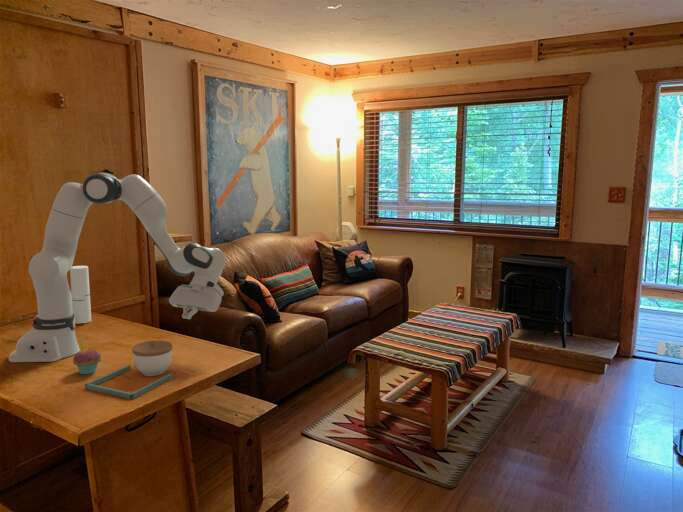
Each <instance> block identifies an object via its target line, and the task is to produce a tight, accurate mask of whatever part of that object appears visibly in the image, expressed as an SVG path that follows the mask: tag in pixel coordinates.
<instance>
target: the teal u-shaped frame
mask: <svg viewBox="0 0 683 512" xmlns="http://www.w3.org/2000/svg"><path fill="white" fill-rule="evenodd" d="M128 370H129V371H130V370H131V365H130V364H128V365H125V366H123V367H121V368H119V369H116V370H114V371H112V372H110V373H107V374H105V375H103V376H101V377H98V378H96V379H94V380H91V381H90V382H87V383H85V384H84V385H85V389H86V390H91V391H93V392H98V393H103V394H106V395H107V394H108V395H112V396H115V397H120V398H123V399H127V400H134V399H136V398H138V397H140V396H141V395H144V394H146V393H147V392H149V391H152V390H154V389H155V388H156V387H159V386H160V384H161V385H162V383H163V384H164V383H166V382H168V381H170V380H172V379H173V375H174V374H173V373H169V374H167V375H165V376H162V377H160V378H159V379H157V380H155V381H153V382H151V383H149V384H147V385H146V386H143V387H142V388H139V389H137V390H135V391H134V392H129V391H128V392H127V391H123V390H120V389H119V390H118V389H113V388H110V387H107V386H101V385H100V384H102V383H104V382H107V381H109V380H111V379H113V378H115V377H118V376H119V374H120V375H122V374H124V373H126V372H128ZM117 375H118V376H117ZM112 377H113V378H112ZM110 378H111V379H110ZM108 379H109V380H108ZM106 380H107V381H106ZM143 393H144V394H143Z"/></svg>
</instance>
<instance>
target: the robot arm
mask: <svg viewBox="0 0 683 512" xmlns="http://www.w3.org/2000/svg"><path fill="white" fill-rule="evenodd" d="M116 200H118V201H122V202H124V204H126V205H127V206H128V207H129V208H130V209H131V211H132V212H133V213H134V215H136V217H137V219H139V220H140V222H141V224H142V225H143V227H144V229H145V231H146V232H147V234H148V236H149V237H150V238H151V240H152V241H153V243H154V244H155V246H156V247H157V249H158V250H159V251H160V253H161V254H162V255H163V257H164V259H165V260H166V264H167V266H168V268H169V270H170V271H171V273H172V274H174V275H175V276H177V277H178V276H179V277H186V276H189V275H190V274H191V273H192V272H194V274H193V277H192V278H191V281H190V283H189V284H181V285H178V286H177V287H176V289H175V290H174V291H173V293H172V294H171V296H170V297H169V299H168V303H169V304H170V305H171V306H172V307H175V308H182V309H183V310H182V311H183V313H182V314H181V317H182V319H187V320H191V319H192V317H193V316H195V314H197V313H198V311H203V312H211V313H215V312H216V311H218V309H219V307H220V306H221V303H222V301H223V300H222V297H223V296H224V295H225V293H224V291H223V289H222V288H221V286H219V285H218V283H217V282H218V279H219V278H220V277H221V275H222V274H223V271H224V269H225V267H226V266H225V265H226V264H227V256H226V254H225V252H223V251H222V250H221V249H220V248H217V247H206V246H203V245H202V244H199V243H196V242H190V243H188V244H186V245H185V246H183V247H182V248H180V247H179V246H178V245H177V244H176V242H175V241H174V239H173V238H172V236H171V235H170V233H169V231H167V226H166V223H167V221H166V220H167V218H168V213H169V212H168V211H169V210H168V206H167V204H166V202H165V200H164V199H163V198H162V196H161V195H160V194H159V193H158V192H157V190H156V189H155V188H154V187H153V186H152V184H150V183H149V182H148V181H147V180H146V179H144V178H143V177H142V176H141V175H139V174H135V173H134V174H128V175H126V176H125V177H123V178H118V177H117V176H116V175H115V174H112V173H110V172H109V173H108V172H98V173H97V172H96V173H93V174H90V175H88V176H87V177H86V178H85V179H84V181H83V183H79V182H72V181H71V182H65V183H64V184H63V185H61V188H60V189H59V191H58V192H57V194H56V196H55V199H54V201H53V203H52V207H51V210H50V212H49V216H48V217H47V221H46V226H45V228H44V232H45V233H44V238H43V239H44V240H43V244H42V245H43V246H42V248H41V250H40V252H38V253H36V254H35V255H33V257H31V260H30V261H29V264H28V268H27V269H28V274H29V275H30V276H31V280H32V281H31V282H32V283H33V288H34V291H35V295H36V302H37V303H36V304H37V305H36V307H37V314H36V315H34V317H33V319H32V320H31V321H32V322H31V326H32V328H31V329H29V330H28V331H27V332H26V333H24V334H23V335H22V336H21V337H20V338H19V339H18V340H17V342H16V345H15V350H13V351H11V352H10V354H9V355H8V362H9V363H39V362H41V363H42V362H43V363H45V362H46V363H48V362H49V363H50V362H56V361H59V360H61V359H64V358H68V357H71V356H75V355H77V354H78V353H80V352H81V347H80V345H79V343H78V340H77V336H76V330H75V329H76V325H75V318H74V314H73V308H72V292H71V288H70V286H69V281H68V272H69V271H70V269H71V267H73V264H74V260H75V258H76V257H75V256H76V253H77V248H78V245H79V244H78V243H79V239H80V235H81V232H82V230H83V226H84V222H85V220H86V217H87V214H88V210H89V209H90V206H91V205H92V204H96V205H107V204H110V203H112V202H115V201H116Z"/></svg>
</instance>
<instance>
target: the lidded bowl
mask: <svg viewBox="0 0 683 512" xmlns="http://www.w3.org/2000/svg"><path fill="white" fill-rule="evenodd" d="M131 348H132V350H131V351H132V360H133V363H134V365H135V368H136V369H137V371H139V372H140V373H142V375H143V376H145V377H157V376H160V375H163V374H164V373H165V371H166V370H167V369H168V368H169V366H170V364H171V363H172V359H173V357H172V356H173V344H172V343H171V342H170V341H167V340H153V339H152V340H147V341H142V342H139V343H137V344H135V345H134V346H132V347H131Z"/></svg>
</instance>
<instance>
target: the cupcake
mask: <svg viewBox="0 0 683 512" xmlns="http://www.w3.org/2000/svg"><path fill="white" fill-rule="evenodd" d="M79 346H80V351H79V352H78V353H76V354H74V355H73V356H74V357H73V358H72V364H73V365H74V366H76V367H77V369H78V371H79V373H80V374H81V375H90V374H93V373H95V372H96V370H97V367H98V364H99V363H100V362H102V355H101V354H100V353H99V352H98V351H95V350H93V349H91V350H90V349H89V350H84V345H83V341H82V340H81V339H79Z"/></svg>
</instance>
